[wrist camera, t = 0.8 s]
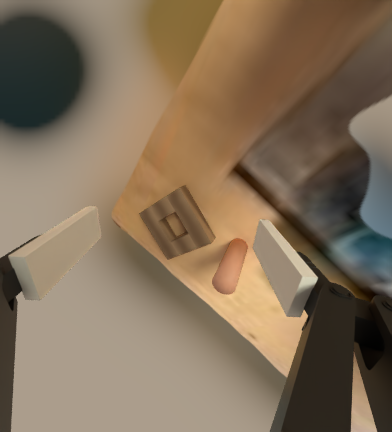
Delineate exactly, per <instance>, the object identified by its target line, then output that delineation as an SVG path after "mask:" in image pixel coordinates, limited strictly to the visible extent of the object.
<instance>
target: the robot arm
mask: <svg viewBox="0 0 392 432" xmlns="http://www.w3.org/2000/svg"><path fill="white" fill-rule="evenodd" d="M101 237H102V236H101V229H100V222H99V215H98V208H97V207H93V206H87V207H85V208H84V209H82V210H81V211H79V212H77V213H76V214H74V215H73V216H71V217H69V218H68V219H66V220H65V221H63V222H61V223H60V224H58V225H57V226H55V227H53V228H52V229H50V230H49V231H47V232H45V233H44V234H42V235H39V236H37V237H34V238H32V239H31V240H29V241H28V242H26V243H24V244H23V245H21V246H20V247H18V248H16V249H14V250H13V251H11V252H10V253H8V254H6V255H5V256H3V257H1V258H0V432H11V416H12V398H13V379H14V360H15V341H16V340H15V339H16V322H17V299H16V296H17V295H18V294H19V293H20V292H21V291H22V292H23V295H24V297H25V299H27V300H41V299H42V298H43V297H44V296H45V295H46V294H47V293H48V292H49V291H50V290H51V289H52V288H53V287H54V286H55V285H56V283H58V282H59V281H60V279H61V278H62V277H63V276H64V275H65V274H66V273H67V272H68V271H69V270H70V269H71V268H72V267H73V266H74V265H75V264H76V263H77V262H78V260H80V259H81V258H82V257H83V256H84V255H85V253H86V252H87V251H88V250H89V249H90V248H91V247H92V246H93V245H94V244H95V243H96V242H97V241H98V240H99V239H100V238H101ZM253 250H254V252H255V254H256V256H257V258H258V260H259V262H260V264H261V266H262V268H263V270H264V272H265V274H266V276H267V278H268V280H269V282H270V284H271V286H272V288H273V290H274V292H275V294H276V296H277V298H278V300H279V302H280V304H281V306H282V308H283V310H284V312H285V314H286V316H288V317H301V315H302V313H303V310H305V311H306V313H307V315H308V318H307V320H306V322H305V324H304V326H303V328H302V331H303V332H302V335H301V338H300V341H299V344H298V347H297V350H296V353H295V356H294V359H293V362H292V365H291V368H290V371H289V374H288V377H287V381H286V384H285V387H284V390H283V393H282V396H281V399H280V402H279V405H278V408H277V411H276V414H275V417H274V420H273V423H272V426H271V430H270V432H351V407H352V382H353V356H354V352H355V355H356V359H357V362H358V366H359V369H360V373H361V376H362V380H363V383H364V387H365V390H366V394H367V397H368V401H369V404H370V408H371V411H372V415H373V418H374V422H375V425H376V428H377V432H392V299H390V298H388V297H384V296H375V297H374V298H373V299H372V301H371V302H368V301H365V300H361V299H358V298H355V296H354V295H353V294H352V293H351V292H350V291H349V290H347V289H346V288H344V287H343V286H341V285H338V284H336V283H331V282H330V281H329V280H328V279H327V278H326V277H325V276H324V275H323V274H322V273H321V272H320V270H319V269H318V268H316V266H315V265H314V264H313V263H312V262H311V261H310V259H309V258H308V257H307V256H305V255H304V254H302V253H301V252H296V251H295V250H294V249H293V248H292V247H291V245H290V244H289V243H288V242H287V241H286V240H285V238H284V237H283V236H282V235H281V234H280V233H279V231H278V230H277V229H276V228H275V227H274V226H273V224H272V223H271V222H270V221H269V220H262V219H260V220H259V224H258V228H257V232H256V236H255V240H254V244H253Z"/></svg>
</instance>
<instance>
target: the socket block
mask: <svg viewBox="0 0 392 432" xmlns="http://www.w3.org/2000/svg"><path fill="white" fill-rule="evenodd" d="M174 212H176V213H177V215H178V217H179V218H180V220H181V222H182V223H183V225H184V227H185V229H186V230H187V232H186V233H184V234H181V235H179V236H177V237H176V235H175V234H174V232H173V230H172V229H171V227H170V225H169V224H168V222H167V220H166V219H165V217H166V216H168V215H170V214H172V213H174ZM139 214H140V216H141V218H142V219H143V221H144V222H145V224H146V226H147V227H148V229H149V231H150V232H151V234H152V235H153V237H154V239H155V240H156V242H157V243H158V245H159V247H160V248H161V250H162V252H163V253H164V255H165V256H166V258H167V260H168V259H171V258H174V257H176V256H179V255H182V254H184V253H187V252H190V251H192V250H195V249H198V248H200V247H203V246H206V245H208V244H211V243H212V242H213V240H214V239H215V236H214V234H213V232H212V230H211V229H210V227H209V225H208V223H207V222H206V220H205V218H204V217H203V215H202V213H201V211H200V210H199V208H198V206H197V204H196V203H195V201H194V199H193V197H192V196H191V194H190V192H189V190H188V189H187V187H186V185H185V186H183V187H180V188H178V189H177V190H175V191H174V192H172V193H171V194H169V195H167V196H166V197H164V198H163V199H161V200H159V201H158V202H156V203H155V204H153V205H152V206H150V207H148V208H147V209H145V210H144V211H142V212H141V213H139Z"/></svg>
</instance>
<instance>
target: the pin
mask: <svg viewBox="0 0 392 432" xmlns="http://www.w3.org/2000/svg"><path fill="white" fill-rule="evenodd" d="M247 249H248V246H247V244H246V242H245V241H244V240H242V239H234V240H232V241H231V243H230V245H229V247H228V249H227V251H226V253H225V255H224V257H223V259H222V261H221V263H220V265H219V267H218V269H217V271H216V273H215V275H214V277H213V279H212V284H213V286H214V288H215V289H216V290H217V291H218V292H220V293H222V294H232V293H233V292H234V291H235V289H236V286H237V282H238V279H239V276H240V272H241V269H242V266H243V263H244V259H245V256H246V253H247Z"/></svg>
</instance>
